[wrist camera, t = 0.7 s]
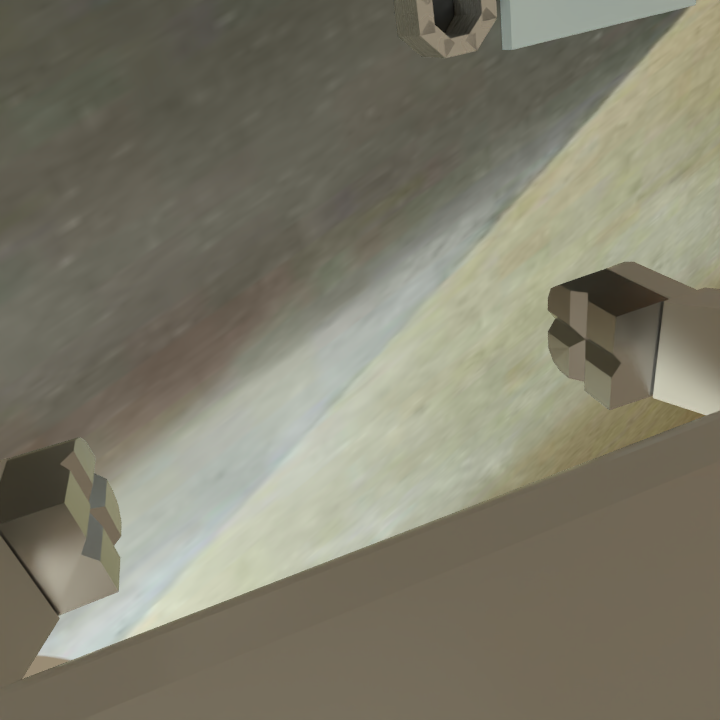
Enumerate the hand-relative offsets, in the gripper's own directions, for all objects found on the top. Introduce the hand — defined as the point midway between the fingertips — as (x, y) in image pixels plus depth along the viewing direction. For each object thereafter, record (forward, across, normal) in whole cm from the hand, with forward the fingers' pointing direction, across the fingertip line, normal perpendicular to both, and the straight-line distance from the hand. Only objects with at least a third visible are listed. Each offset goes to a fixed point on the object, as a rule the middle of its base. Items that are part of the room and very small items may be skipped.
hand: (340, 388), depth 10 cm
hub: (+41, -20, -4) cm, 46 cm away
